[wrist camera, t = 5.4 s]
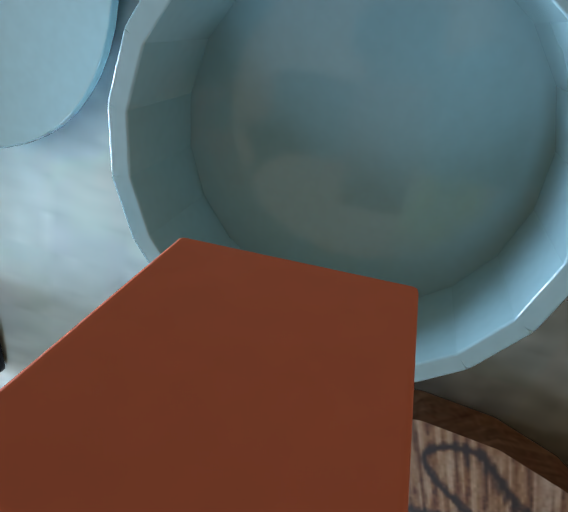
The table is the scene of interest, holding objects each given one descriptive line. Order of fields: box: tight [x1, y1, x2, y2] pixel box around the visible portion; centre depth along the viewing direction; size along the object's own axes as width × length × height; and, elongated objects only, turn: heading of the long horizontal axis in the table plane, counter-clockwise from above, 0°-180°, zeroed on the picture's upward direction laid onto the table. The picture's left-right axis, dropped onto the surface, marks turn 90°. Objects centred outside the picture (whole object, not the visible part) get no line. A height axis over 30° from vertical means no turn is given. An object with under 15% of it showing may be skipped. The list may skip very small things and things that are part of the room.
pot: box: [108, 0, 568, 382], centre depth 16 cm, size 14×14×5 cm
